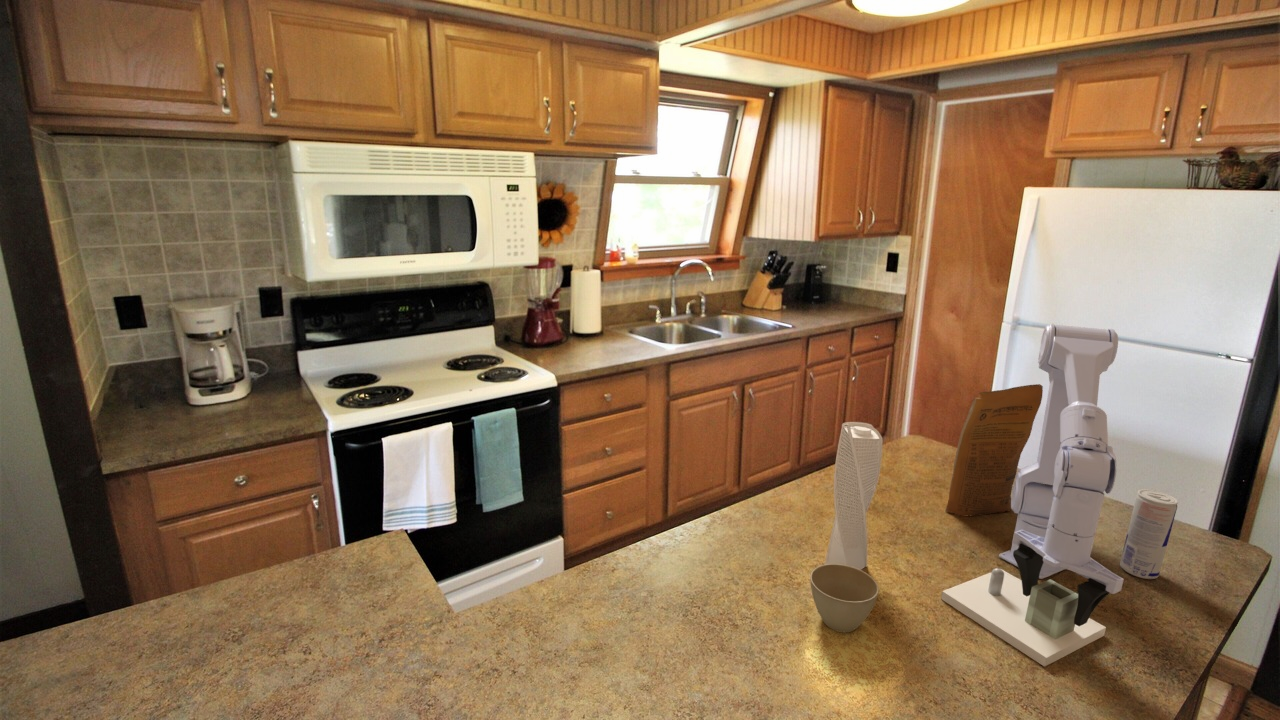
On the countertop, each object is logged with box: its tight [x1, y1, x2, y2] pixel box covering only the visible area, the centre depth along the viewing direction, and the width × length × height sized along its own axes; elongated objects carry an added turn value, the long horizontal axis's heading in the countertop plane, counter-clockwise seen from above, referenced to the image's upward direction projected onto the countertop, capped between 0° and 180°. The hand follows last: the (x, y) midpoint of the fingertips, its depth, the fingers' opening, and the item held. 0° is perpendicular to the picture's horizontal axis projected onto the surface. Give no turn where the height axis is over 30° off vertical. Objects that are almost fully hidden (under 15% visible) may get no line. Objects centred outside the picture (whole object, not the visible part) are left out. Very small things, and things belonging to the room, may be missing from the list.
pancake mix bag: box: [945, 383, 1044, 517], centre depth 130 cm, size 7×19×28 cm, turn 103°
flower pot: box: [809, 563, 880, 633], centre depth 97 cm, size 10×10×7 cm
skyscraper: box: [824, 421, 883, 570], centre depth 109 cm, size 8×8×28 cm
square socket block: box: [1025, 579, 1078, 639], centre depth 95 cm, size 5×5×6 cm
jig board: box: [940, 567, 1107, 667], centre depth 99 cm, size 15×17×6 cm
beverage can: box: [1119, 488, 1179, 580], centre depth 111 cm, size 6×6×15 cm
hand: (1053, 607), depth 95 cm, fingers open, 7 cm apart
